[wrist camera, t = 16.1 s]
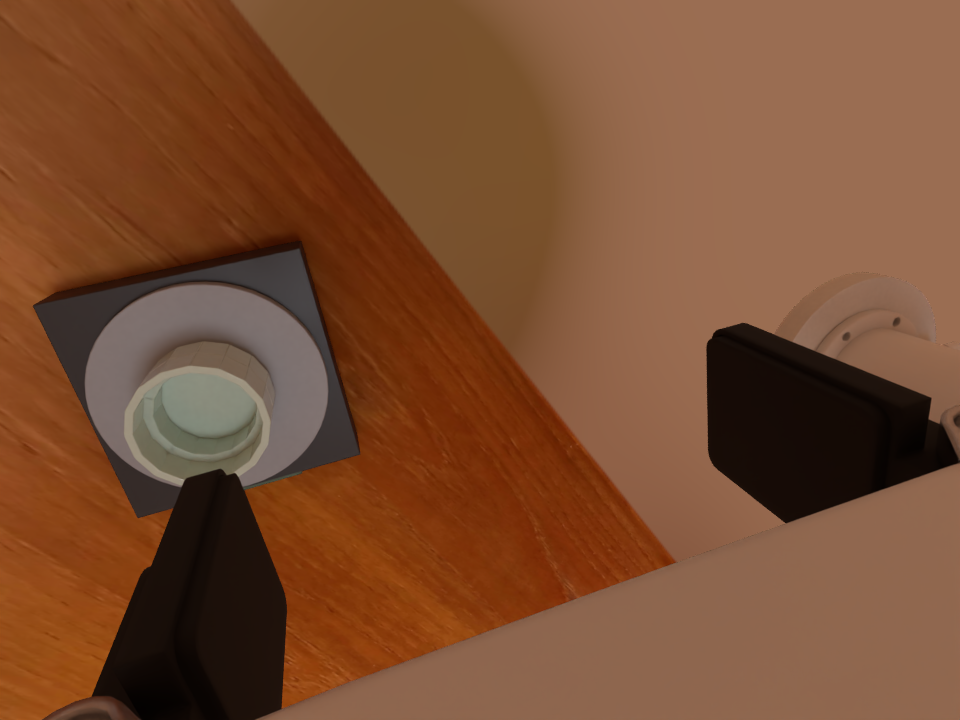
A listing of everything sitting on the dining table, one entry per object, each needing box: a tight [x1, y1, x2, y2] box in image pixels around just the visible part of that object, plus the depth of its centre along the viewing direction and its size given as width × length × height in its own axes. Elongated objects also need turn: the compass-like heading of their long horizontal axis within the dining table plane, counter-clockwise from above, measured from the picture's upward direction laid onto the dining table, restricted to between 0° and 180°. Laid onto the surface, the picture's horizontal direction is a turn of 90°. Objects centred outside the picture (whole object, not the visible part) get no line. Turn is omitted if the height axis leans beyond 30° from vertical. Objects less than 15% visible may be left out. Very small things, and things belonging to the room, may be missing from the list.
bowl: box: [124, 341, 275, 486], centre depth 31 cm, size 7×7×4 cm
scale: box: [33, 241, 360, 518], centre depth 35 cm, size 14×14×4 cm
